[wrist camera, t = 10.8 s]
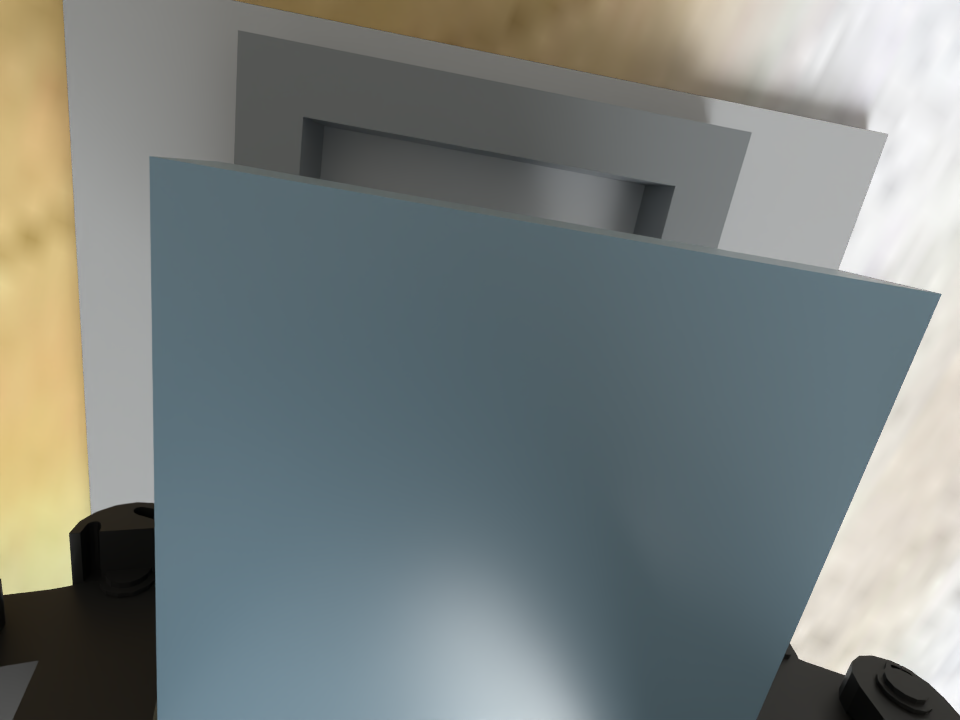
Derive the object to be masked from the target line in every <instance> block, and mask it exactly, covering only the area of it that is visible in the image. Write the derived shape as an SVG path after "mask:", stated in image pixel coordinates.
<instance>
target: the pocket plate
mask: <svg viewBox="0 0 960 720" xmlns="http://www.w3.org/2000/svg"><path fill="white" fill-rule="evenodd" d="M63 13H64V31H65V49H66V67H67V86H68V104H69V122H70V140H71V158H72V176H73V194H74V212H75V230H76V248H77V266H78V284H79V303H80V321H81V339H82V357H83V375H84V393H85V411H86V429H87V447H88V465H89V483H90V502H91V515H92V514H93V513H95V512H97V511H100V510H103V509H106V508H109V507H112V506H115V505H120V504H127V503H135V502H146V503H154V448H153V379H152V309H151V240H150V171H149V156H155V157H168V158H180V159H193V160H206V161H218V162H225V163H231V164H236V165H242V166H248V167H254V168H259V169H265V170H271V171H276V172H282V173H288V174H294V175H299V176H305V177H311V178H316V179H322V180H328V181H333V182H339V183H345V184H351V185H356V186H362V187H368V188H373V189H379V190H385V191H391V192H396V193H402V194H408V195H413V196H419V197H425V198H430V199H436V200H442V201H448V202H453V203H459V204H465V205H470V206H476V207H482V208H488V209H493V210H499V211H505V212H510V213H516V214H522V215H527V216H533V217H539V218H545V219H550V220H556V221H562V222H567V223H573V224H579V225H585V226H590V227H596V228H602V229H607V230H613V231H619V232H624V233H630V234H636V235H642V236H647V237H653V238H659V239H664V240H670V241H676V242H681V243H687V244H693V245H699V246H704V247H710V248H716V249H721V250H727V251H733V252H739V253H744V254H750V255H756V256H761V257H767V258H773V259H778V260H784V261H790V262H796V263H801V264H807V265H813V266H818V267H824V268H830V269H836V270H838V269H839V266H840V263H841V261H842V258H843V255H844V253H845V250H846V247H847V245H848V242H849V239H850V236H851V234H852V231H853V228H854V226H855V223H856V220H857V218H858V215H859V212H860V209H861V207H862V204H863V201H864V199H865V196H866V193H867V191H868V188H869V185H870V183H871V180H872V177H873V174H874V172H875V169H876V166H877V164H878V161H879V158H880V156H881V153H882V150H883V147H884V145H885V142H886V139H887V137H888V134H886V133H881V132H876V131H871V130H866V129H861V128H856V127H851V126H846V125H841V124H837V123H832V122H827V121H822V120H817V119H812V118H807V117H802V116H797V115H792V114H788V113H783V112H778V111H773V110H768V109H763V108H758V107H753V106H748V105H743V104H739V103H734V102H729V101H724V100H719V99H714V98H709V97H704V96H699V95H694V94H689V93H685V92H680V91H675V90H670V89H665V88H660V87H655V86H650V85H645V84H640V83H636V82H631V81H626V80H621V79H616V78H611V77H606V76H601V75H596V74H591V73H587V72H582V71H577V70H572V69H567V68H562V67H557V66H552V65H547V64H542V63H538V62H533V61H528V60H523V59H518V58H513V57H508V56H503V55H498V54H493V53H489V52H484V51H479V50H474V49H469V48H464V47H459V46H454V45H449V44H444V43H440V42H435V41H430V40H425V39H420V38H415V37H410V36H405V35H400V34H395V33H391V32H386V31H381V30H376V29H371V28H366V27H361V26H356V25H351V24H346V23H342V22H337V21H332V20H327V19H322V18H317V17H312V16H307V15H302V14H297V13H293V12H288V11H283V10H278V9H273V8H268V7H263V6H258V5H253V4H248V3H243V2H239V1H234V0H63Z"/></svg>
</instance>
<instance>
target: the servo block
mask: <svg viewBox="0 0 960 720" xmlns="http://www.w3.org/2000/svg"><path fill="white" fill-rule="evenodd" d="M149 171H150V240H151V309H152V379H153V448H154V517H155V587H156V656H157V720H756V719H757V717H758V715H759V712H760V710H761V708H762V705H763V703H764V701H765V699H766V696H767V694H768V692H769V689H770V687H771V685H772V682H773V680H774V678H775V676H776V673H777V671H778V669H779V666H780V664H781V662H782V659H783V657H784V655H785V653H786V650H787V648H788V646H789V643H790V641H791V639H792V636H793V634H794V632H795V630H796V627H797V625H798V623H799V620H800V618H801V616H802V613H803V611H804V609H805V607H806V604H807V602H808V600H809V597H810V595H811V593H812V591H813V588H814V586H815V584H816V581H817V579H818V577H819V574H820V572H821V570H822V568H823V565H824V563H825V561H826V558H827V556H828V554H829V551H830V549H831V547H832V545H833V542H834V540H835V538H836V535H837V533H838V531H839V528H840V526H841V524H842V522H843V519H844V517H845V515H846V512H847V510H848V508H849V505H850V503H851V501H852V499H853V496H854V494H855V492H856V489H857V487H858V485H859V483H860V480H861V478H862V476H863V473H864V471H865V469H866V466H867V464H868V462H869V460H870V457H871V455H872V453H873V450H874V448H875V446H876V443H877V441H878V439H879V437H880V434H881V432H882V430H883V427H884V425H885V423H886V420H887V418H888V416H889V414H890V411H891V409H892V407H893V404H894V402H895V400H896V397H897V395H898V393H899V391H900V388H901V386H902V384H903V381H904V379H905V377H906V375H907V372H908V370H909V368H910V365H911V363H912V361H913V358H914V356H915V354H916V352H917V349H918V347H919V345H920V342H921V340H922V338H923V335H924V333H925V331H926V329H927V326H928V324H929V322H930V319H931V317H932V315H933V312H934V310H935V308H936V306H937V303H938V301H939V299H940V296H941V294H939V293H935V292H931V291H927V290H922V289H918V288H914V287H909V286H905V285H901V284H897V283H892V282H888V281H884V280H879V279H875V278H871V277H866V276H862V275H858V274H854V273H849V272H845V271H841V270H836V269H830V268H824V267H818V266H813V265H807V264H801V263H796V262H790V261H784V260H778V259H773V258H767V257H761V256H756V255H750V254H744V253H739V252H733V251H727V250H721V249H716V248H710V247H704V246H699V245H693V244H687V243H681V242H676V241H670V240H664V239H659V238H653V237H647V236H642V235H636V234H630V233H624V232H619V231H613V230H607V229H602V228H596V227H590V226H585V225H579V224H573V223H567V222H562V221H556V220H550V219H545V218H539V217H533V216H527V215H522V214H516V213H510V212H505V211H499V210H493V209H488V208H482V207H476V206H470V205H465V204H459V203H453V202H448V201H442V200H436V199H430V198H425V197H419V196H413V195H408V194H402V193H396V192H391V191H385V190H379V189H373V188H368V187H362V186H356V185H351V184H345V183H339V182H333V181H328V180H322V179H316V178H311V177H305V176H299V175H294V174H288V173H282V172H276V171H271V170H265V169H259V168H254V167H248V166H242V165H236V164H231V163H225V162H218V161H206V160H193V159H180V158H168V157H155V156H149Z"/></svg>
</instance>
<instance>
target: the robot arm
mask: <svg viewBox="0 0 960 720" xmlns="http://www.w3.org/2000/svg"><path fill="white" fill-rule="evenodd" d="M69 537H70V551H71V565H72V580H73V585H72V586H68V587H62V588H57V589H51V590H43V591H34V592H26V593H17V594H9V595H3V592H2V584H1V579H0V720H157V656H156V587H155V517H154V503H146V502H135V503H127V504H120V505H115V506H112V507H109V508H106V509H103V510H100V511H97V512H95V513H93V514H92V515H90V516H88V517H86V518H85V519H83V520H81V521H80V522H79V523H78V524H77V525H76V526H75V527H74V528H73V530H72V531H71V532H70V533H69ZM756 720H960V715H959V714H958V713H957V712H956V711H955V710H954V709H953V707H952V706H951V705H950V704H949V703H948V702H947V701H946V700H945V698H944V697H942V696H941V695H940V694H939V693H938V692H937V691H936V690H935V689H934V688H933V687H932V686H931V685H930V684H929V683H927V682H926V681H924V680H923V679H921V678H920V677H919V676H917V675H916V674H914V673H913V672H912V671H911V670H909V669H907V668H905V667H903V666H900V665H899V664H897V663H894V662H892V661H890V660H886V659H883V658H879V657H876V656H859V657H857V658H856V659H855V660H853V661H852V663H851V665H850V667H849V669H848V671H847V673H846V675H842V674H839V673H836V672H833V671H830V670H828V669H825V668H822V667H819V666H816V665H813V664H810V663H807V662H804V661H802V660H800V659H798V656H797V655H796V653H795V651H794V650H793V648H792V646H791V645H790V643H789V646H788V648H787V650H786V653H785V655H784V657H783V659H782V662H781V664H780V666H779V669H778V671H777V673H776V676H775V678H774V680H773V682H772V685H771V687H770V689H769V692H768V694H767V696H766V699H765V701H764V703H763V705H762V708H761V710H760V712H759V715H758V717H757V719H756Z"/></svg>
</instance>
